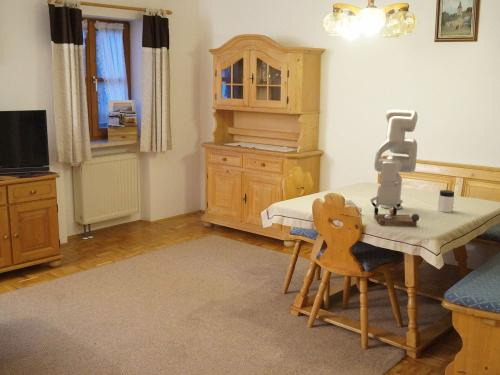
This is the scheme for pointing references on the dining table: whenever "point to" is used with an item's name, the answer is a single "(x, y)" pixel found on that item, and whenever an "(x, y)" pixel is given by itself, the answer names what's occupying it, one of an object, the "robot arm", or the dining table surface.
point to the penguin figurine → (352, 203)
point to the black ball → (415, 217)
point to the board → (395, 220)
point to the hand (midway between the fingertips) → (385, 215)
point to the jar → (446, 201)
